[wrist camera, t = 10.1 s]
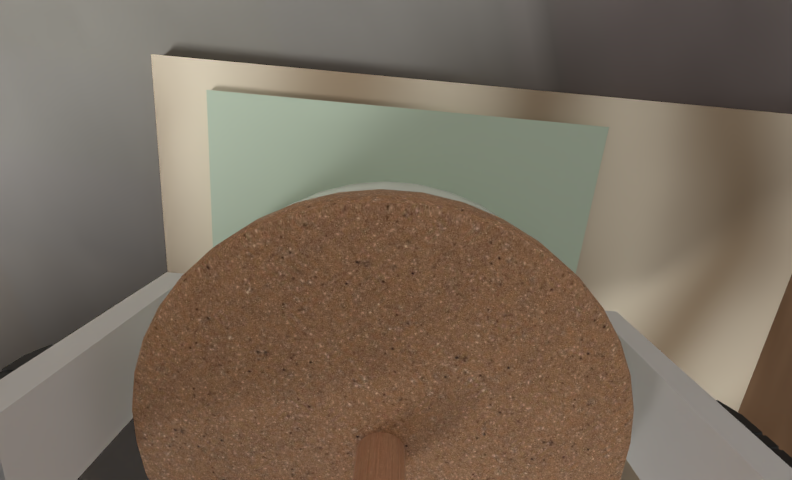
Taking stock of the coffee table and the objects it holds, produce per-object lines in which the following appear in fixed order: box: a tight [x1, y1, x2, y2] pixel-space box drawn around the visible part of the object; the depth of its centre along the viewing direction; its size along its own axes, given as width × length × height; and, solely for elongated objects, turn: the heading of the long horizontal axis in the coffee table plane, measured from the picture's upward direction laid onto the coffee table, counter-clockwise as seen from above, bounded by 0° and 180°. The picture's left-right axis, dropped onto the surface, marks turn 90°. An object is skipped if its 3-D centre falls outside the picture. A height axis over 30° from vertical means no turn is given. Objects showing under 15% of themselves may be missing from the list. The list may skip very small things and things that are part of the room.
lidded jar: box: [132, 181, 634, 480], centre depth 12 cm, size 11×11×9 cm
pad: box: [206, 90, 609, 274], centre depth 16 cm, size 14×14×1 cm
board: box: [151, 54, 792, 480], centre depth 17 cm, size 26×18×1 cm
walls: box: [738, 275, 792, 457], centre depth 14 cm, size 26×18×6 cm
